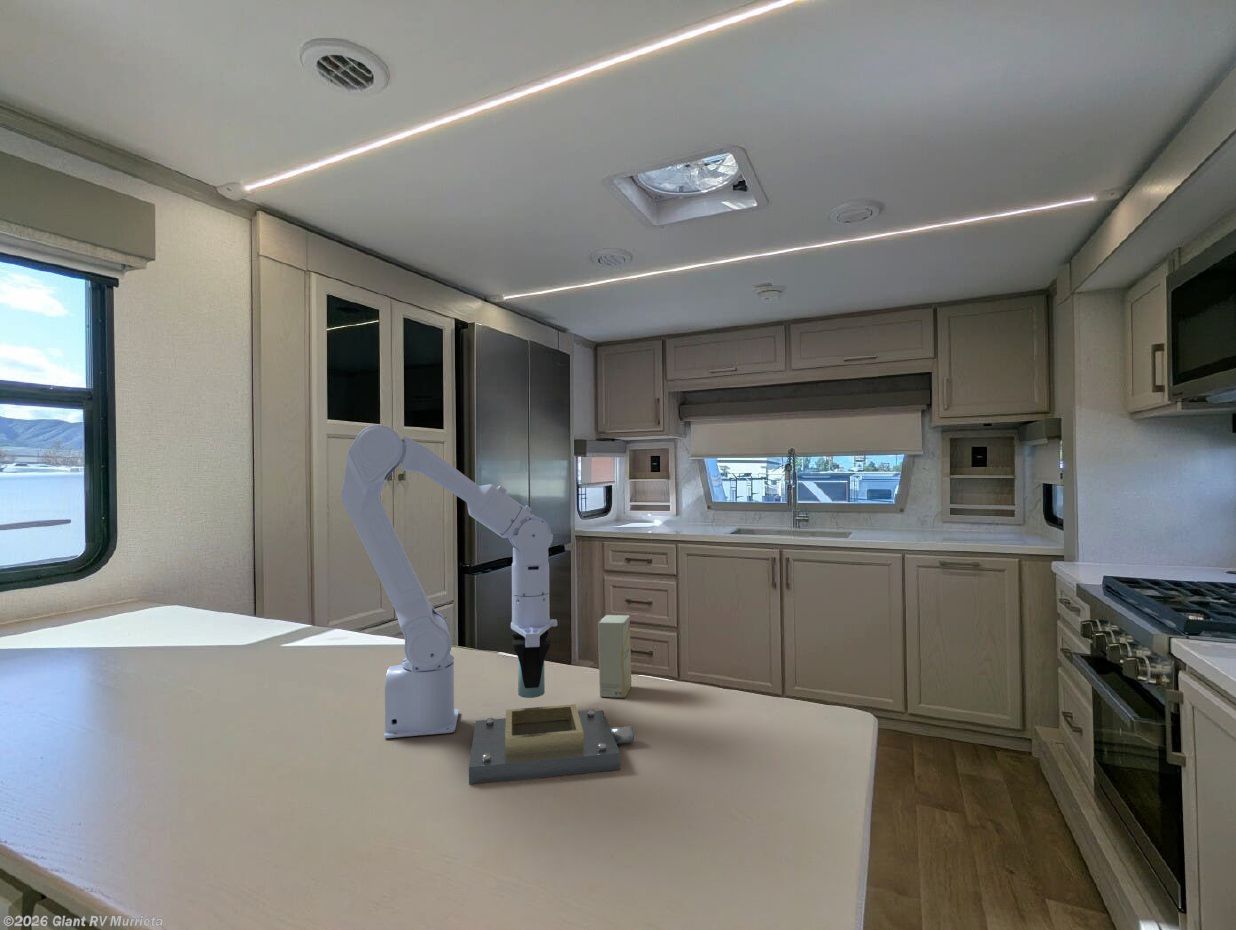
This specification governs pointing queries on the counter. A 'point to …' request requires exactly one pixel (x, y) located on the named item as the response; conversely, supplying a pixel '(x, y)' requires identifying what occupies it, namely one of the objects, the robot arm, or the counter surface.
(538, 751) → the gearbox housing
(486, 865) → the counter surface
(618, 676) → the skincare box
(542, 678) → the spout can
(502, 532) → the robot arm
